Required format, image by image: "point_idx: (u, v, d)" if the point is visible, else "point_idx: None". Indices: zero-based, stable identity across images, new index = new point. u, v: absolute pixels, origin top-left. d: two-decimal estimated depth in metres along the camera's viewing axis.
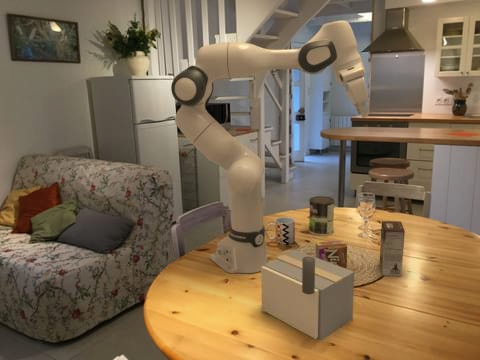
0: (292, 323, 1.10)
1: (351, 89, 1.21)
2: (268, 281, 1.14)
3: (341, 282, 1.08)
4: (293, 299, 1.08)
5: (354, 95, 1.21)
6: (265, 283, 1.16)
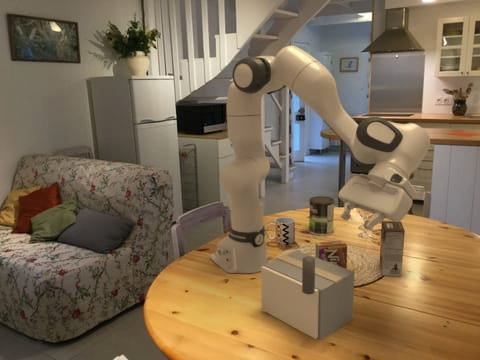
0: (292, 323, 1.10)
1: (402, 198, 0.98)
2: (268, 281, 1.14)
3: (341, 282, 1.08)
4: (293, 299, 1.08)
5: (399, 205, 0.97)
6: (265, 283, 1.16)
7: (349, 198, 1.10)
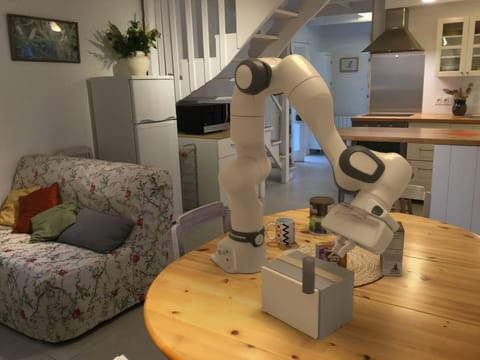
0: (292, 323, 1.10)
1: (383, 231, 0.97)
2: (268, 281, 1.14)
3: (341, 282, 1.08)
4: (293, 299, 1.08)
5: (380, 239, 0.96)
6: (265, 283, 1.16)
7: (331, 228, 1.09)
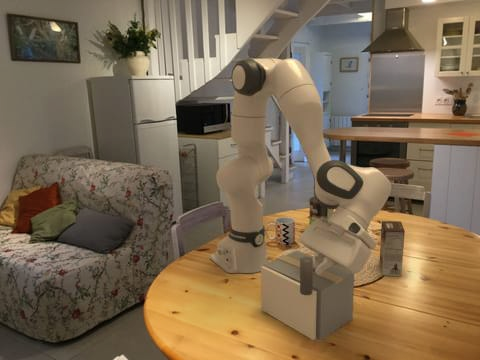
0: (291, 324, 1.10)
1: (359, 250, 0.94)
2: (268, 281, 1.14)
3: (341, 282, 1.08)
4: (292, 300, 1.08)
5: (356, 258, 0.94)
6: (265, 283, 1.16)
7: (309, 244, 1.07)
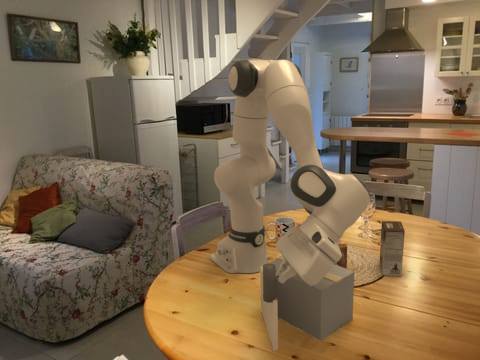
0: (268, 329, 1.08)
1: (315, 261, 0.89)
2: (262, 281, 1.14)
3: (341, 282, 1.08)
4: (267, 304, 1.06)
5: (311, 269, 0.89)
6: (261, 283, 1.16)
7: (280, 250, 1.03)
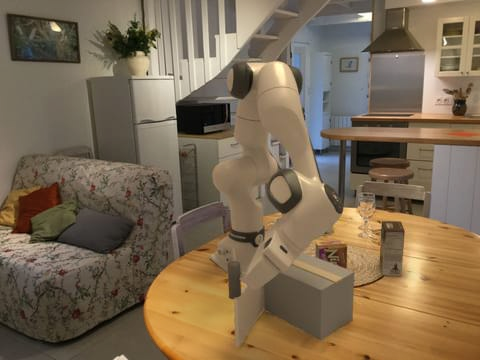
0: None
1: (256, 266, 0.88)
2: None
3: (341, 282, 1.08)
4: None
5: (251, 273, 0.88)
6: None
7: (255, 251, 1.03)
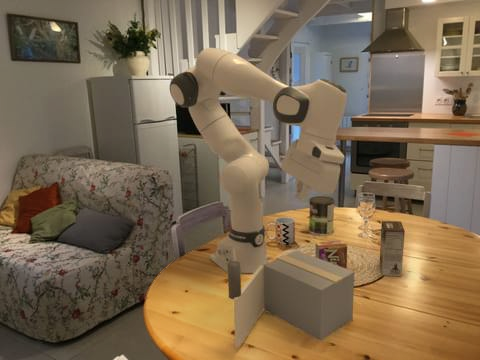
0: None
1: (325, 173, 0.96)
2: None
3: (341, 282, 1.08)
4: None
5: (324, 182, 0.97)
6: None
7: (289, 173, 1.10)
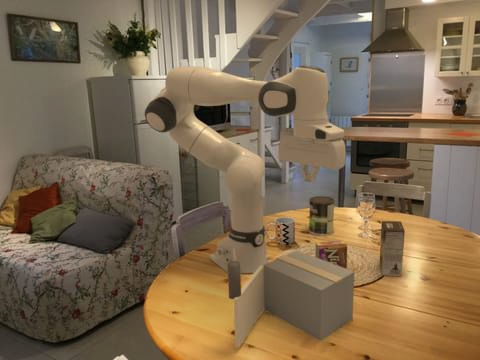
0: None
1: (335, 151, 1.03)
2: None
3: (341, 282, 1.08)
4: None
5: (337, 158, 1.03)
6: None
7: (291, 161, 1.15)
